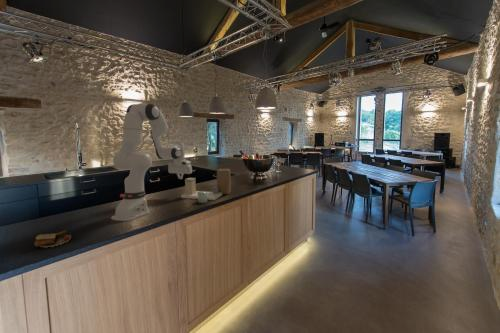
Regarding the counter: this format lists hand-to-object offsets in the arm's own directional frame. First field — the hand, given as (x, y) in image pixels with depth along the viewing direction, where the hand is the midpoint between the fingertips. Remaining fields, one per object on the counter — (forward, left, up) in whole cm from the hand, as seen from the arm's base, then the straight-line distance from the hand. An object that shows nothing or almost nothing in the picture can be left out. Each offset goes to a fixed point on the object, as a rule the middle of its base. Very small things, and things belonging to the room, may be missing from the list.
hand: (180, 178), depth 202 cm
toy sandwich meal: (-94, +11, -14) cm, 96 cm away
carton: (0, -9, -11) cm, 15 cm away
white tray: (0, -19, -13) cm, 23 cm away
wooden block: (+15, -32, -14) cm, 38 cm away
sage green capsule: (-13, -26, -13) cm, 32 cm away
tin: (+5, -29, -11) cm, 32 cm away
